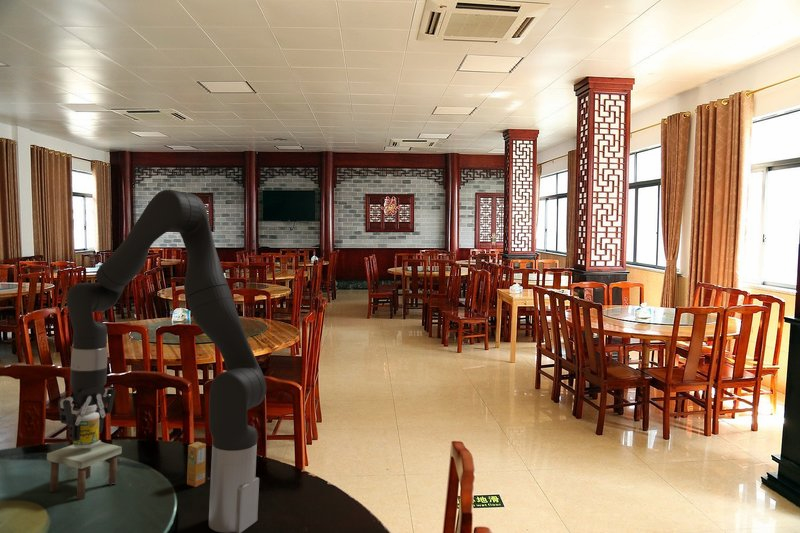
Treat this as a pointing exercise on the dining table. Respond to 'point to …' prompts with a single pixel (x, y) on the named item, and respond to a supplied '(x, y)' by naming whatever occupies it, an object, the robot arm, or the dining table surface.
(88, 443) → the supplement bottle
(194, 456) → the supplement box
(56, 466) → the stool
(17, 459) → the dining table surface
